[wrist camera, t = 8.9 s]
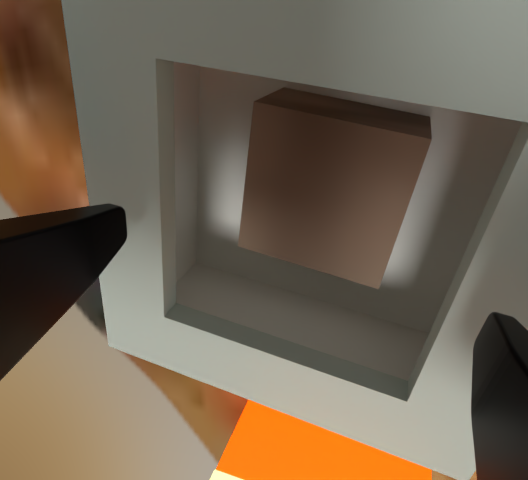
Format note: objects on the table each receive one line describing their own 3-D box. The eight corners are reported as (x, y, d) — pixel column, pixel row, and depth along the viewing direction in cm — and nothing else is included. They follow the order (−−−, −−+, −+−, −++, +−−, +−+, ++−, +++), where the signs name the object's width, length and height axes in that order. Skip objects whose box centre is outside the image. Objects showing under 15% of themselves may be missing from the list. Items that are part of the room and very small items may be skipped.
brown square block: (430, 116, 13) (431, 139, 10) (385, 245, 15) (378, 289, 13) (284, 87, 14) (253, 101, 11) (265, 212, 16) (237, 246, 14)
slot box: (630, -3, 10) (821, -27, 5) (454, 348, 17) (466, 483, 12) (188, -47, 13) (49, -87, 8) (186, 266, 20) (108, 345, 15)
